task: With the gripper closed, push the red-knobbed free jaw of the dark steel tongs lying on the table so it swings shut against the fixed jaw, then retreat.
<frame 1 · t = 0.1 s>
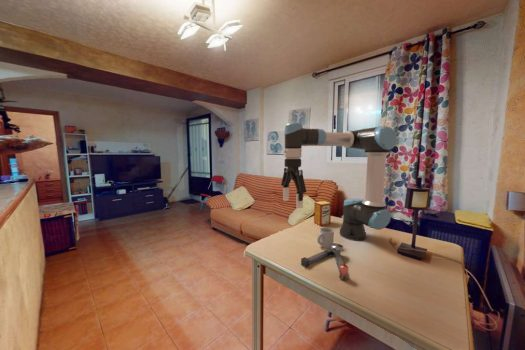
hand: (292, 204, 92), 28 cm above the table, fingers open, 13 cm apart
baking soda box: (322, 224, 143), on the table
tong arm: (339, 259, 91), point 3 cm above the table, hinge at 45.0°
cup: (324, 246, 110), on the table
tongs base: (336, 255, 99), on the table
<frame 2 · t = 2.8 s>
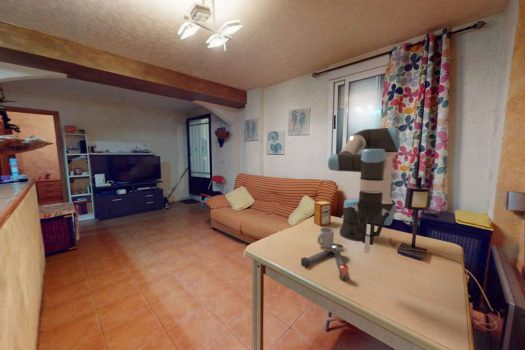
hand: (367, 251, 75), 14 cm above the table, fingers closed
nothing on the table moved.
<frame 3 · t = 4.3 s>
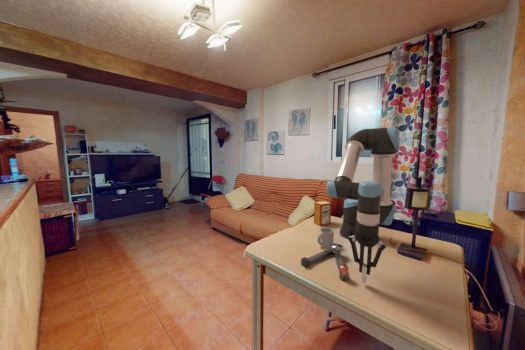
hand: (364, 280, 77), 2 cm above the table, fingers closed
nothing on the table moved.
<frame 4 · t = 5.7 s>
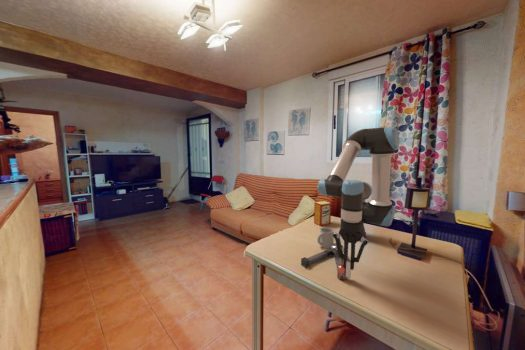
hand: (348, 275, 80), 2 cm above the table, fingers closed
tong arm: (338, 259, 91), point 3 cm above the table, hinge at 42.5°
everything else where it was.
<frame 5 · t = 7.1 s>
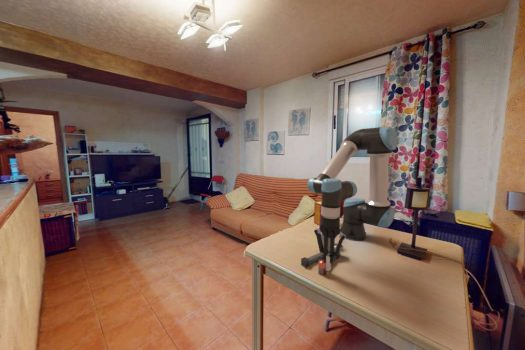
hand: (328, 269, 85), 2 cm above the table, fingers closed
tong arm: (330, 257, 92), point 3 cm above the table, hinge at 17.6°, touching gripper
everything else where it was.
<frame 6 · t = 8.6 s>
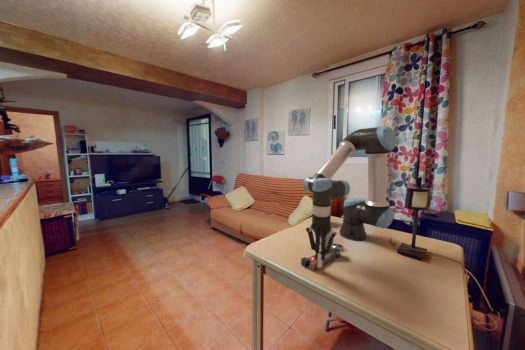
hand: (319, 266, 87), 2 cm above the table, fingers closed
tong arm: (326, 256, 94), point 3 cm above the table, hinge at 4.8°, touching gripper
everything else where it was.
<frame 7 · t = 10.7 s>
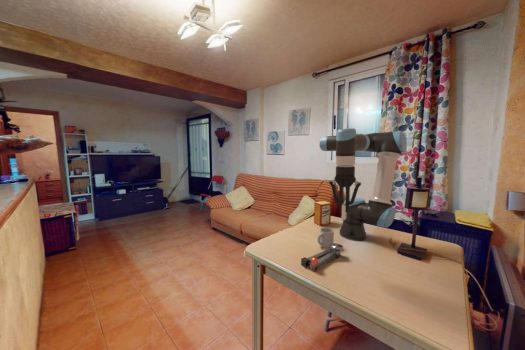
hand: (343, 218, 87), 23 cm above the table, fingers closed
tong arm: (326, 256, 94), point 3 cm above the table, hinge at 5.6°
everything else where it was.
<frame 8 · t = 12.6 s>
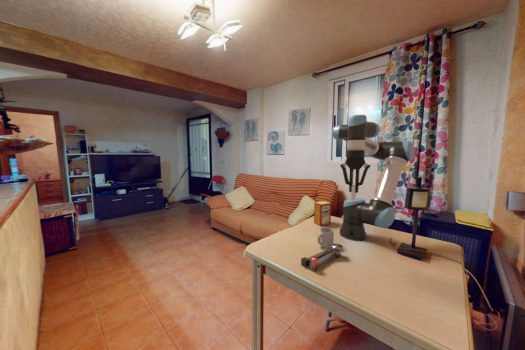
hand: (353, 199, 95), 29 cm above the table, fingers closed
nothing on the table moved.
at the end: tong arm at +6° (first picture: +45°) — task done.
